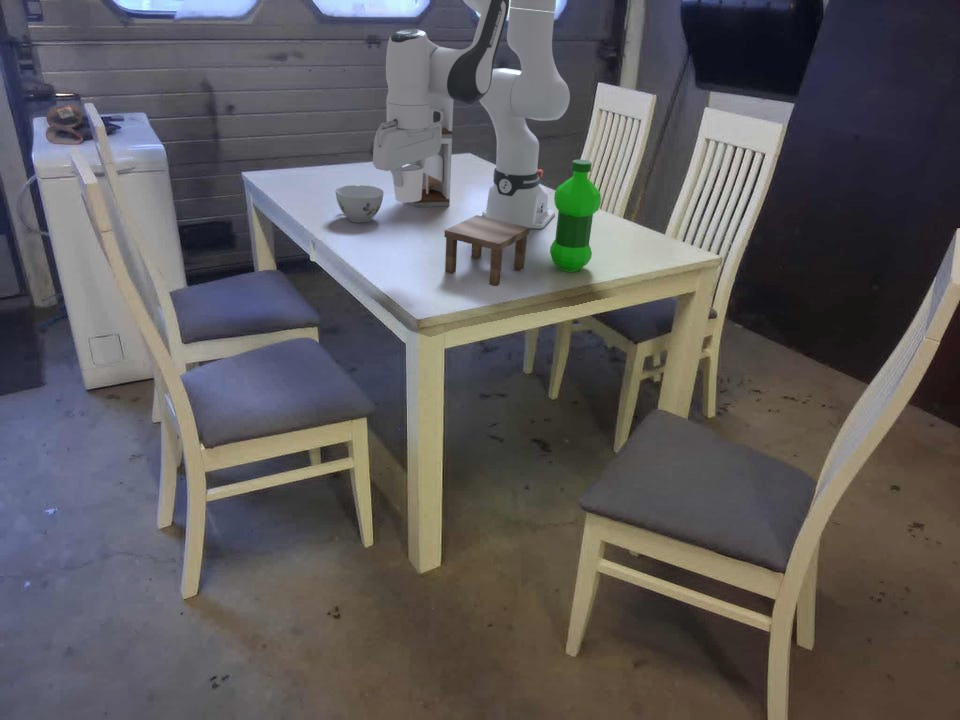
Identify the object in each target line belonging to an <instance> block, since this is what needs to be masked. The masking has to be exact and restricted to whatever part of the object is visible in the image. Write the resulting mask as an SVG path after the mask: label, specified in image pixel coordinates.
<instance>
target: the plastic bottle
mask: <svg viewBox="0 0 960 720" xmlns="http://www.w3.org/2000/svg"><path fill="white" fill-rule="evenodd" d="M592 166H593V165H592V161H590V160H586V159H574V160H572V161H571V170H572V171H573V173H572V174H573V175H572V177H570V178H568V179H566V180H565V181H564V182H562V184H560V185H558V186H557V188H556V189H555V192H554V198H553V200H554V205H555V208H556V209H557V220H556V222H557V223H556V230H555V231H556V232H555V239H554V240H553V242H552V244H551V245H550V248H549V253H550V257H551V261H552V262H553V263H554V265H555V266H556V267H557V268H558V269H559V270H561V271H563V272H569V273H572V272H573V271H575V272H578V271H579V269H580V270H581V269H582V268H583V267H586V266H587V264H588V263H590V261H591V259H592V257H593V256H592V254H593V252H592V248H591V246H590V241H591V240H590V238H591V232H592V225H593V218H594V214H595V213H596V212H598V211H599V208H600V206H601V202H602V197H601V196H602V195H601V192H600V191H599V189H598V188H597V187H596V185H594V183H593V182H592V181H591V180H590V179H589V178H588V176H589V173H590V172H591V171H592ZM573 273H574V272H573Z"/></svg>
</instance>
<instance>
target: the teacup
mask: <svg viewBox="0 0 960 720" xmlns="http://www.w3.org/2000/svg"><path fill="white" fill-rule="evenodd" d="M384 195H385V193H384V190H383V189H382V188H379V187H377V186H374V185H364V184H360V185H355V184H351V185H350V184H348V185H343V186H341V187H338V188H336V189H335V197H336V201H337V202H336V203H337V204H338V207H339V208H340V210H341V212H342V213H343V215H345V217H346V218H348V220H349V221H350V222H353V223H367V222H371V221H372V218H374V217H375V216H376V215H377V213H378V212H379V210H380V208H381V206H382V203H383V200H384V199H383V198H384Z"/></svg>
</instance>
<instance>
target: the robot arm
mask: <svg viewBox="0 0 960 720" xmlns="http://www.w3.org/2000/svg"><path fill="white" fill-rule="evenodd" d="M462 1H463V2H464V4H465V5H466V6H468V7H469V8H470V9H471V10H473V11H475V12H477V13H478V14H479V15H480V17H479V19H478V20H479V21H478V23H477V27H476V30H475V33H474V37H473V41H472V44H470V46H468V47H466V48H464V49H462V48H461V49H457V48H449V47H445V46H439V45H438V44H436V43H434V42H432V41H431V40H430V39H429V38H428V35H427V33H426V32H425V31H424V30H421V29H415V28H412V29H411V28H409V29H401V30H397V31H395V32H394V33H392V34H390V36H389V38H388V43H387V47H386V55H385V56H386V57H385V80H386V82H387V95H386V99H385V100H386V103H385V104H386V121H385V122H382V123H380V125H379V127H378V128H377V130H376V133H375V136H374V140H373V151H372V164H373V166H374V168H375V169H377V170H380V171H384V172H389V171H390V173H391V175H392V178H393V177H394V183H393V186H394V185H395V186H397V187H401V186H403V178H402V175H401V171H402V166H404V165H407V164H410V163H413V162H415V164H419V165H422V166H423V167H424V165H425V158H428V157H431V156H434V155H437V154H438V153H439V151H440V148H441V134H442V129H441V124H440V123H439V122H441V121H442V118H443V114H442V112H441V111H439V110H436V109H433V108H430V100H429V96H428V94H430V95H435V96H438V97H444V98H450V99H453V101H458V102H461V103H464V104H466V105H467V104H468V105H473V104H476V103H477V102H479V104H480V105H481V106H483V108H484V109H485V110H486V112H487V113H488V115H489V117H490V119H491V122H492V125H493V128H494V131H495V136H496V161H495V167H494V170H493V174H492V175H493V176H492V177H493V182H492V183H493V185H491V186H489V188H488V196H487V200H486V201H487V202H486V207H485V208H486V210H485V209H484V210H483V211H482V215H481V216H483V217H487V218H491V219H495V220H500V221H504V222H508V223H512V224H516V225H521V226H525V227H529V229H538V230H539V229H544V228H545V226H546V225H547V224H548V223H549V222H550V221H551V220H552V219H553V217H554V216H555V215H556V212H555V210H553V209H551V208H548V204H549V203H548V201H549V196H548V193H547V192H545V190H544V189H543V188H542V187H541V186H540V178H542V177H543V175H544V170H543V169H538V164H539V156H540V155H539V154H540V153H539V152H540V142H539V139H538V138H537V137H536V135H535V134H534V133H533V132H532V131H531V130H530V128H529V127H528V125H527V122H526V121H527V120H526V119H529V120H530V119H531V120H534V121H541V122H543V121H557V120H559V119H560V118H562V117H563V116H564V115H565V113H566V112H567V110H568V108H569V105H570V101H571V100H570V99H571V94H570V89H569V87H568V86H569V85H568V84H567V82H566V81H565V80H564V79H563V78H562V76H561V75H560V73H559V71H558V68H557V67H556V63H555V59H554V55H553V33H554V32H553V31H554V23H555V15H556V13H555V12H556V7H557V0H462ZM507 19H508V21H507ZM506 22H508V23H507V29H506V30H507V32H506V33H507V34H506V41H507V45H508V47H509V48H510V49H511V50H512V52H514V53H515V54H516V55H517V57H518V59H519V62H520V68H521V70H518V69H513V68H507V67H501V68H494V65H495V60H496V57H497V54H498V49H499V47H500V43H501V40H502V36H503V33H504V30H505V26H506Z"/></svg>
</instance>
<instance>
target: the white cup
mask: <svg viewBox="0 0 960 720" xmlns="http://www.w3.org/2000/svg"><path fill="white" fill-rule="evenodd" d="M423 168H424V167H423V166H422V165H419V164H407V165H404V166H402V171H401V175H402V178H403V186H401V187H397V186H395V185H394V177H393V176H392V181H393V189H394V196H395V197H394V198H395V201H398V202H400V203H401V202H402V203H411V202H417V201H420V200H421V198H422V183H423Z"/></svg>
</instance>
